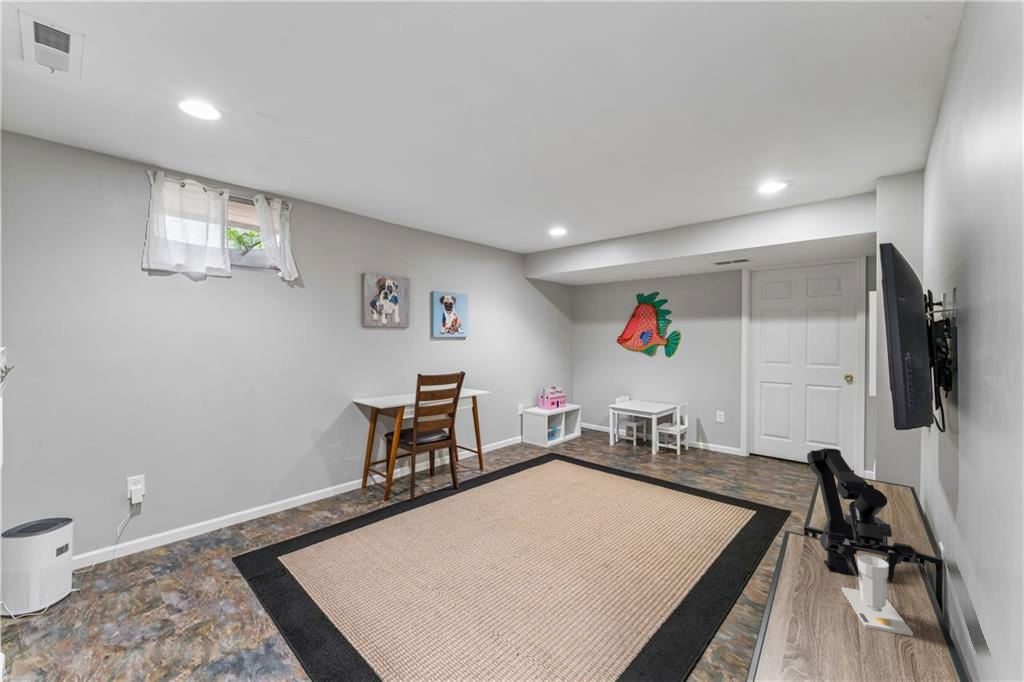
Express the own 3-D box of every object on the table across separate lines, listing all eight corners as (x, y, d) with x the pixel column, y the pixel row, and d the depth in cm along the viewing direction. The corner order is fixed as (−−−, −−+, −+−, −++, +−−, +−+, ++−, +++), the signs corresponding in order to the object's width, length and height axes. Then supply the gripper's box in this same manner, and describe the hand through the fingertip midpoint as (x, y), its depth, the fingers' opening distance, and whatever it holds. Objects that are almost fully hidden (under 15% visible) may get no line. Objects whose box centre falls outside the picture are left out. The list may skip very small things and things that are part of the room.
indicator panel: (841, 589, 130) (841, 586, 130) (882, 596, 126) (882, 593, 126) (865, 627, 113) (865, 623, 113) (913, 636, 109) (913, 632, 109)
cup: (857, 591, 120) (857, 552, 119) (889, 600, 115) (888, 559, 115) (856, 602, 114) (856, 562, 114) (889, 612, 110) (889, 570, 110)
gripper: (826, 503, 122) (833, 560, 113) (913, 515, 113) (928, 578, 104) (822, 520, 129) (829, 574, 120) (904, 532, 120) (918, 593, 111)
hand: (873, 579), depth 114 cm, fingers closed on cup, 6 cm apart
